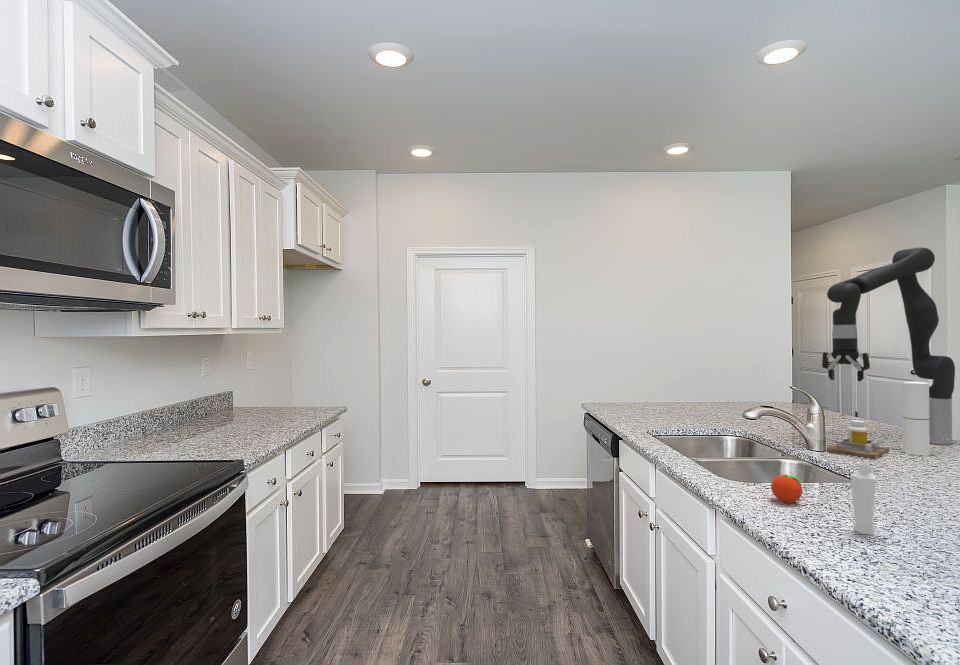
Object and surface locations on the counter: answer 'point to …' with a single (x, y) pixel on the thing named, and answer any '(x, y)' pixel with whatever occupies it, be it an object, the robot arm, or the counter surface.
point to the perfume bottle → (863, 499)
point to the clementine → (787, 488)
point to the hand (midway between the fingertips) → (845, 380)
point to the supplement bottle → (858, 432)
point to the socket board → (858, 449)
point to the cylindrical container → (915, 418)
